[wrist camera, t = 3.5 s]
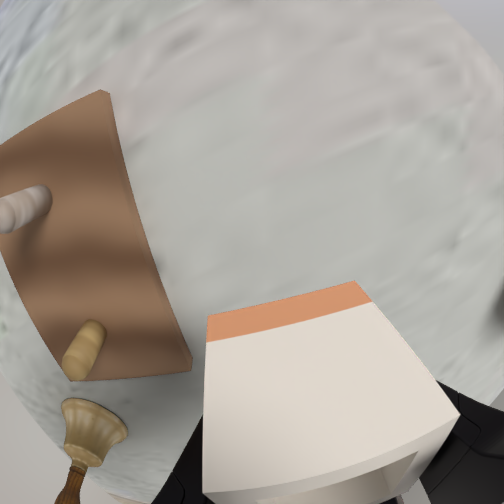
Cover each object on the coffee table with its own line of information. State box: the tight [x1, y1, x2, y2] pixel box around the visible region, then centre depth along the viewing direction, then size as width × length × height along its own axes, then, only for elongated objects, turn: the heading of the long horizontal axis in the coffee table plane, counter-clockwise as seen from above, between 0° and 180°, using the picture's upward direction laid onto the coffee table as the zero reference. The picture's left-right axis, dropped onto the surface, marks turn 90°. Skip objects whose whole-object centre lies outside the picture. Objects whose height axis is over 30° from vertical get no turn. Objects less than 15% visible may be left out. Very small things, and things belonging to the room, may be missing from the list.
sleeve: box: [202, 281, 460, 504], centre depth 7 cm, size 5×5×6 cm
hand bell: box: [55, 398, 128, 504], centre depth 17 cm, size 8×8×16 cm
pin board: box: [0, 90, 193, 381], centre depth 15 cm, size 20×12×6 cm, turn 12°
